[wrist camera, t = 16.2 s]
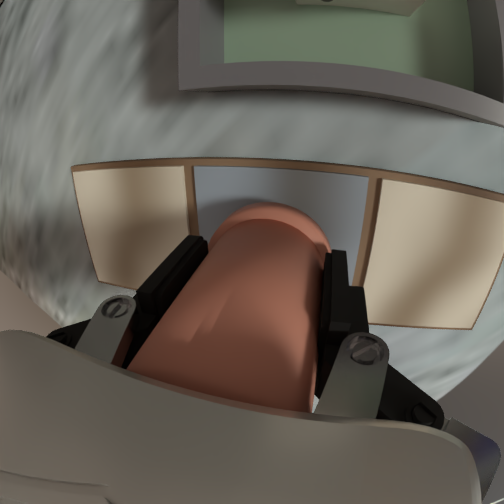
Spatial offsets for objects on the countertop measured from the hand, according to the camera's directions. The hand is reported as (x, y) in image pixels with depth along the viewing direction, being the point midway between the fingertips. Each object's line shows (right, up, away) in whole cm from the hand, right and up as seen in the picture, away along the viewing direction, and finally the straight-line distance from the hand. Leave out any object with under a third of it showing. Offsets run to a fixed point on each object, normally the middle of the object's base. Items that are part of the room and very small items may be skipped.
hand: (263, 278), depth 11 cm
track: (+1, +1, +3) cm, 3 cm away
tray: (+4, +12, -4) cm, 14 cm away
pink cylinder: (0, +1, +1) cm, 2 cm away
